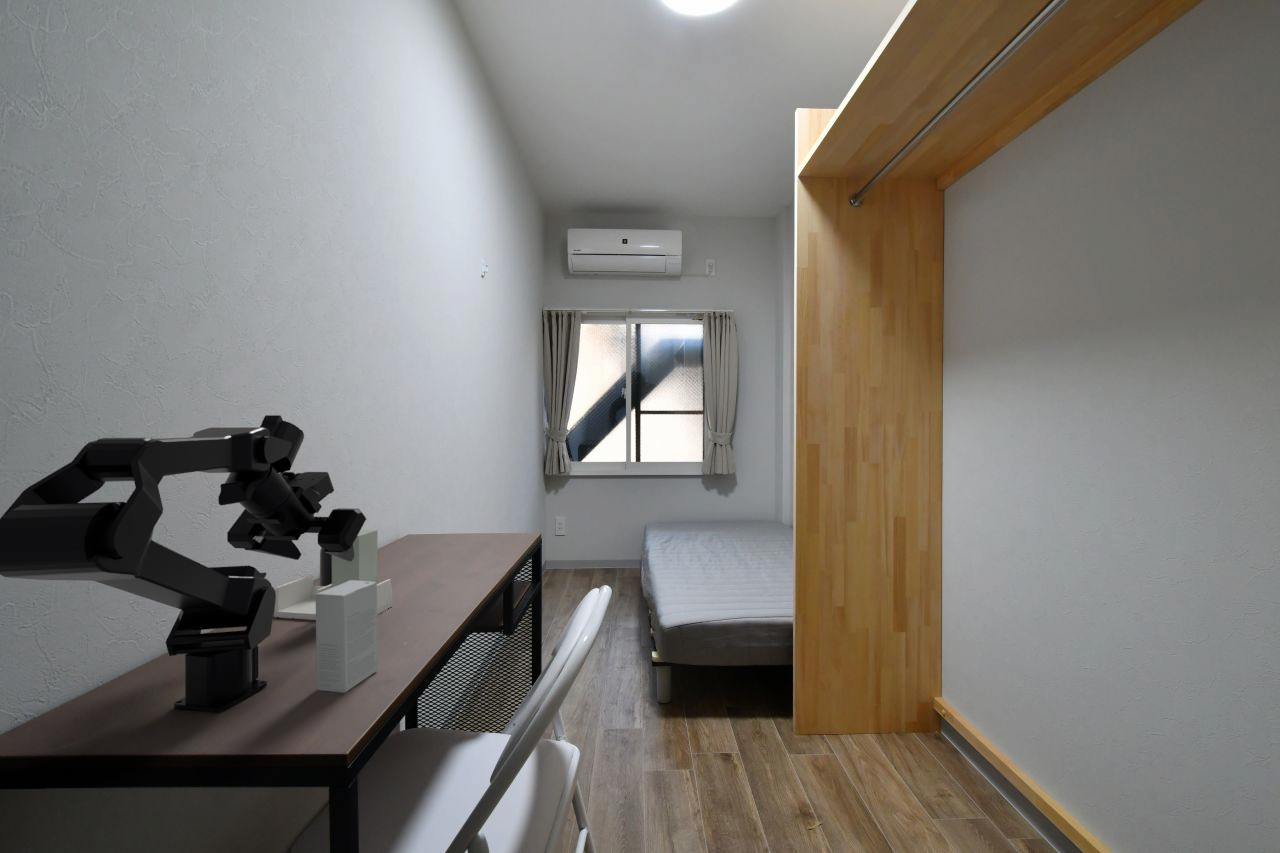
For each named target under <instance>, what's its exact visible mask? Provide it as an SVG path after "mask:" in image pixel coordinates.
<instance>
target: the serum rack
mask: <svg viewBox="0 0 1280 853" xmlns="http://www.w3.org/2000/svg"><path fill="white" fill-rule="evenodd" d="M392 585H393V584H392V578H388V579H385V580H383V581H381V582H379V583H378V584H377V616H378V615H379V614H381V613H383V612H385V611H387V610H388V608H389V609H391V608H392V607H393V589H392ZM330 588H332V584H330V585H328V586H320V585H314V575H313V574H311V575H310V574H309V575H306V576H304V577H301V578H298V579H295V580H292V581H290V582H287V583H284V584H281V585H278V586H276V587H275V588H274V590H275V593H276V601H275V608H274V614H273V618H277V617H279V618H281V619H293V618H294V619H296V620H297V619H298V620H307V621H309V620H310V621H312V620H313V621H316V597H315V595H316V594H317V593H320V592H322V591H325V590H327V589H330ZM390 607H391V608H390ZM279 618H278V619H279ZM294 619H293V620H294Z"/></svg>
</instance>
